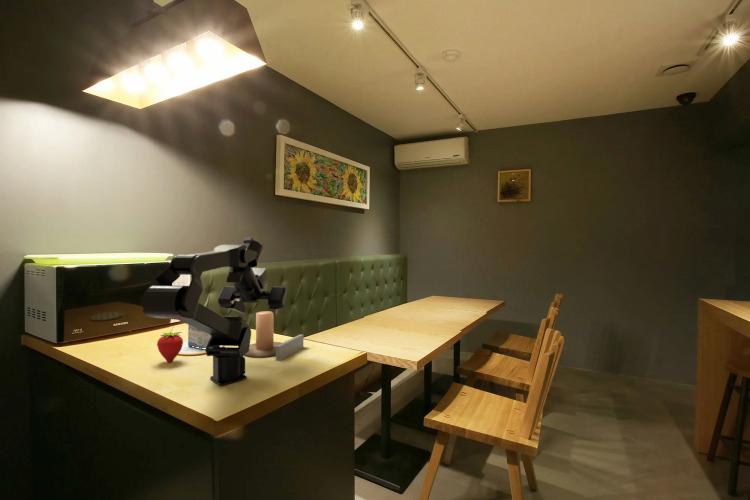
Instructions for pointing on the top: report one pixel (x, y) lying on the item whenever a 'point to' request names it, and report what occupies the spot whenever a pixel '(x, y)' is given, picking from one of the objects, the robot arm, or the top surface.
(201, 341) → the medicine box
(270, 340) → the salmon orange cylinder
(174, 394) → the top surface
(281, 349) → the grey wall
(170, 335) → the strawberry
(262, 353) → the walnut board
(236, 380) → the robot arm
